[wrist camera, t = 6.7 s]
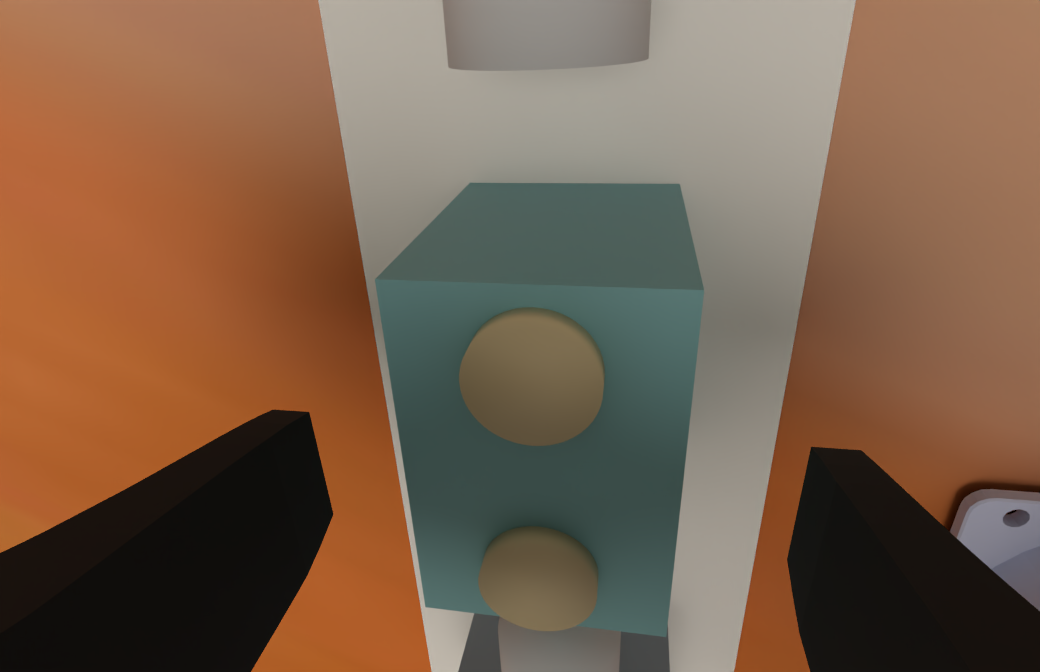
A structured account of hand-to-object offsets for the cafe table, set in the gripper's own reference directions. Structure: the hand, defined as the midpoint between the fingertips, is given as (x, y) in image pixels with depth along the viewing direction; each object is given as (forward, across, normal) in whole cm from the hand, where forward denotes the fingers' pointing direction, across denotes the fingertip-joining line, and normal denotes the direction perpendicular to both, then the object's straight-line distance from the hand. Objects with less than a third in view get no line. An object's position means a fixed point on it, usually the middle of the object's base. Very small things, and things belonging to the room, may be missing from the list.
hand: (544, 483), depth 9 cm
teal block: (+5, 0, 0) cm, 5 cm away
